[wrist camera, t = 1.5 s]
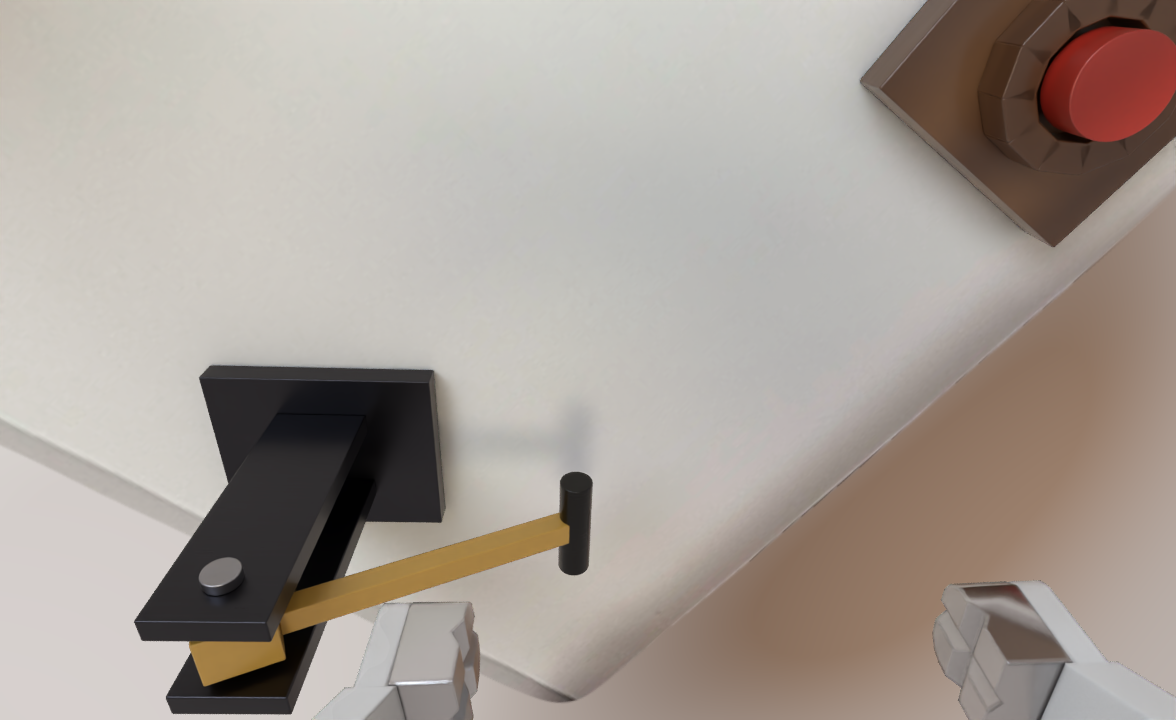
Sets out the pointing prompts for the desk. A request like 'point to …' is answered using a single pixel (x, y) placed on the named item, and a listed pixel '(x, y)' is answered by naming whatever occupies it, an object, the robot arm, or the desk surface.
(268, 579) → the bolt bracket
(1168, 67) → the release button
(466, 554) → the bolt lever
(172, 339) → the desk surface
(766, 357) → the desk surface
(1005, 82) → the release housing
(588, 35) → the desk surface
